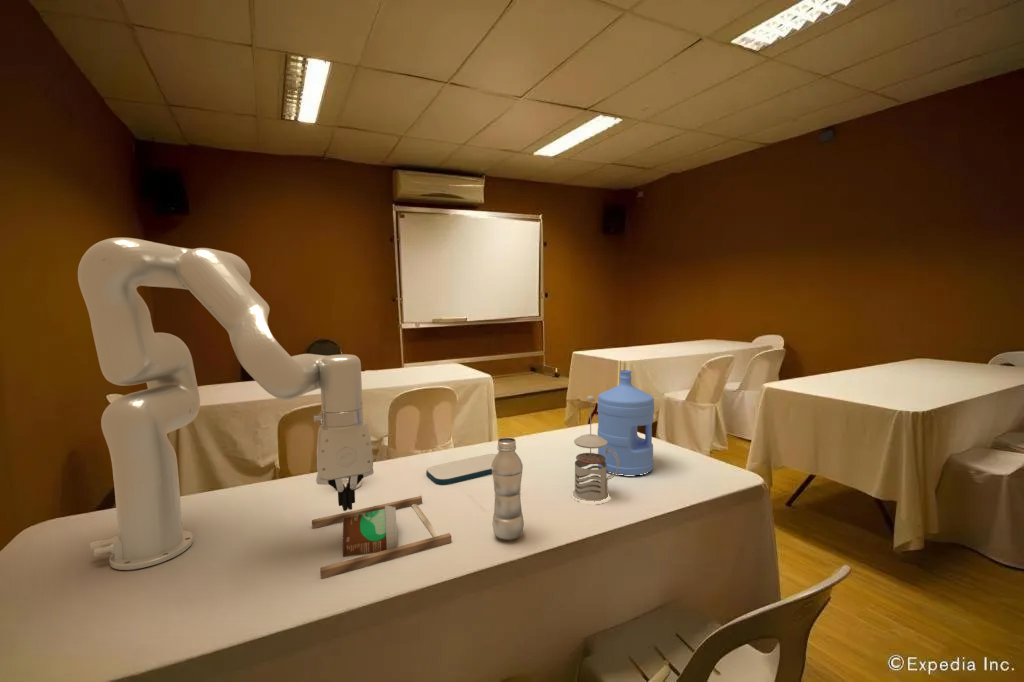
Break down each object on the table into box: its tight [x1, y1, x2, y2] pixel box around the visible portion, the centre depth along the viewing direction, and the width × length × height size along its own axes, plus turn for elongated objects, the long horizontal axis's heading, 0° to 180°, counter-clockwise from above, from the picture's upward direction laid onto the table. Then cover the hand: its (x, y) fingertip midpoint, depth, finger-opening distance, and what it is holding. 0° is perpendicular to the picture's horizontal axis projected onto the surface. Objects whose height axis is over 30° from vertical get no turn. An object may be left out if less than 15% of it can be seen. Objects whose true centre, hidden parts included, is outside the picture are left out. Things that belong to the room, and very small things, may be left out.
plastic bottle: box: [491, 436, 525, 541], centre depth 89 cm, size 6×7×20 cm
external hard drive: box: [425, 453, 497, 486], centre depth 126 cm, size 24×12×2 cm, turn 122°
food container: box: [342, 506, 399, 557], centre depth 89 cm, size 12×6×10 cm
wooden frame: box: [311, 495, 452, 580], centre depth 92 cm, size 24×21×1 cm
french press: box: [572, 395, 619, 502], centre depth 107 cm, size 10×12×25 cm
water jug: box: [597, 369, 655, 475], centre depth 126 cm, size 16×16×28 cm
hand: (347, 507), depth 88 cm, fingers closed
